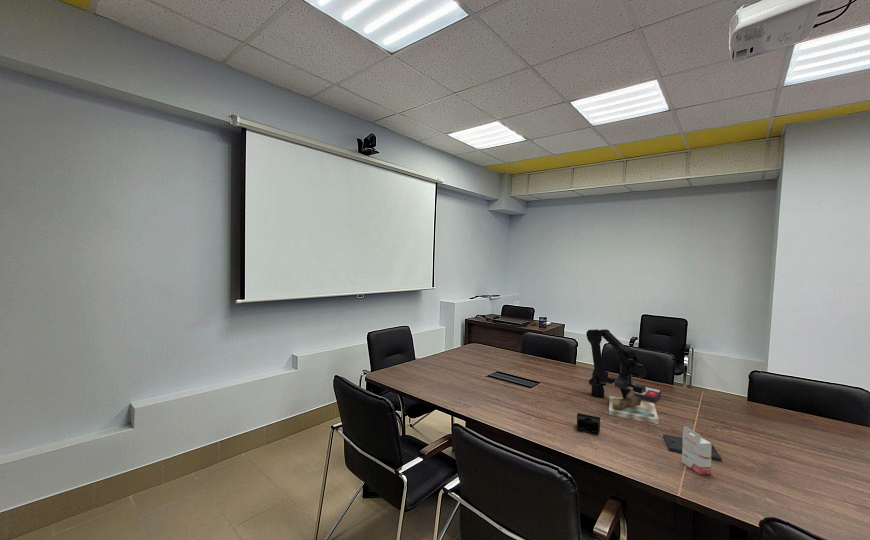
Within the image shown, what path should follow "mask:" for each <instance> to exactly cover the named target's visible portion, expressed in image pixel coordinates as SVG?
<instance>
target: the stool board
mask: <svg viewBox="0 0 870 540" xmlns="http://www.w3.org/2000/svg"><path fill="white" fill-rule="evenodd" d="M614 398H616V399H622V398H623V397H617V396H613V395H609V398H608V400H609V401H608V415H609V416H614V417H617V418H623V419H628V420H633V421H639V422H643V423H644V422H645V423H649V424H655V425H660V423H659V422H660V419H659V416H658V412H657V410H656V406H655V403H654V402H649V401H643V400H641V405H636V406H632V407H628V408H623V409H620V410H617V409H614V408H613V399H614Z"/></svg>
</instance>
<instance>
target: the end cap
mask: <svg viewBox="0 0 870 540" xmlns="http://www.w3.org/2000/svg"><path fill="white" fill-rule="evenodd" d="M576 426H577V431H578V432H581V433H585V434H588V435H589V434H590V435H594V436H599V434H600V433H599V432H600V431H601V417H600V416H595V415H592V414H591V415H590V414H585V413H579V412H578V413H577V414H576Z"/></svg>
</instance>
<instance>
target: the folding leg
mask: <svg viewBox="0 0 870 540" xmlns="http://www.w3.org/2000/svg"><path fill="white" fill-rule="evenodd" d="M621 398H622V399H616V398H614V399H613V408H614V409H617V410H620V409H623V408H628V407H632V406H636V405H641V401H642V399H641V398H640V397H637V396H635V395H634V394H633V395H631V396H627V398H623V397H621Z"/></svg>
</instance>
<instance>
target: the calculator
mask: <svg viewBox="0 0 870 540" xmlns="http://www.w3.org/2000/svg"><path fill="white" fill-rule="evenodd" d="M645 388H646V392H644V393H642V394H640V393H637V392H634V394H633V396H634V395H635V396H637V397H640V398H641V401H645V402H649V403H654V404H657V402H658V401H659V399H660V398H661V397H662V390H661V389H656V388H651V387H646V386H645Z"/></svg>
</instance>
